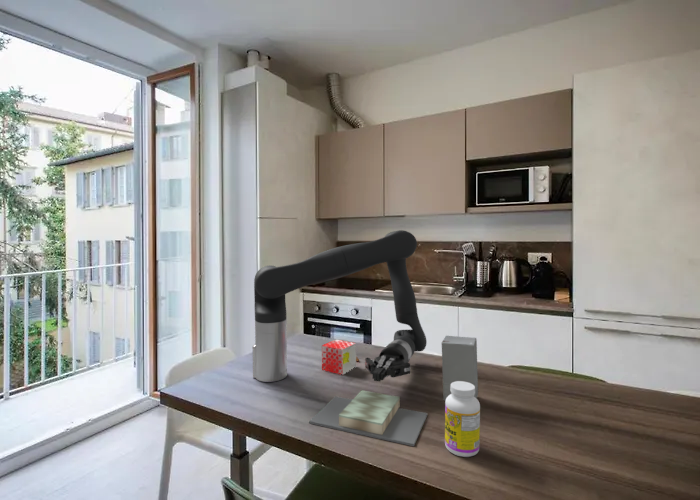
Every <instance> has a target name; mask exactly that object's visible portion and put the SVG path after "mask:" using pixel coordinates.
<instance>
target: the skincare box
mask: <svg viewBox="0 0 700 500" xmlns="http://www.w3.org/2000/svg"><path fill="white" fill-rule="evenodd" d="M477 341H478V339H477V337H469V336H467V337H466V336H457V335H456V336H455V335H454V336H453V335H445V337H443V339H442V341H441V360H442V361H441V363H442V364H441V365H442V366H441V367H442V393H443V395H442V397H443V398H442V400H443V401H446V398H447V397H448V396H449V395H450V394H452V393H451V391H450V386H451V383H453V382H456V381H464V382H468V383H471V384H473V385H474V386H475V395H474V397H475V398H476V399H477V400H478V397H479V396H478V395H479V382H478V381H479V380H478V379H479V378H478V377H479V375H478V374H479V373H478V344H477Z"/></svg>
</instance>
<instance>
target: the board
mask: <svg viewBox="0 0 700 500" xmlns="http://www.w3.org/2000/svg"><path fill="white" fill-rule="evenodd" d="M400 398H401V397H400V396H397V395H391V394H387V393H386V394H385V393H379V392H374V391H368V390H364V389H362V390H360V392H358V394H357V395H356V396H355V397H354V398H353V400H352V401H351V402H350V403H349V404H348V406H347V407H346V408H345V409H344V410H343V411H342V412H341V413H340V414H339V426H344V427H349V428H353V429H358V430H362V431H367V432H372V433H376V434H381V435H382V434H383V433H384V431H385V429H386V428H387V426H388V424H389V423H390V421H391V420H392V418H393V416H394V415H395V413H396V411H397V410H398V408H400V405H401V404H400V402H401V401H400V400H401V399H400Z"/></svg>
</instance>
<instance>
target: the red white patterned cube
mask: <svg viewBox="0 0 700 500" xmlns="http://www.w3.org/2000/svg"><path fill="white" fill-rule="evenodd" d="M356 357H357V343H356V342H352V341H347V340H341V339H334V340H331V341H329V342H327V343H324V344H322V345H321V371H324V370H325V372H328V371H329V373H333V374H337V375H341V374H342V375H341V376H343V375H346V372H347V373H348V372H350V371H352V370H354V369H355V368H357V362H356ZM354 367H355V368H354ZM353 368H354V369H353ZM351 369H352V370H351ZM349 370H350V371H349Z"/></svg>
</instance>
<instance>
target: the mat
mask: <svg viewBox="0 0 700 500" xmlns="http://www.w3.org/2000/svg"><path fill="white" fill-rule="evenodd" d="M353 399H354V398H353ZM353 399H352V398H347V397H341V396H336V395H335V396H334V397H332V399H331V400H330V401H329V402H328V403H327V404H325V405H324V407H322V408H321V409H320V410H319V411H318V412H317V413H316V414H315V415H314V416H313V417H312V418H311V419H310V420H309V422H308V423H309V424H311V425H316V426H320V427H325V428H329V429H334V430H338V431H341V432H342V431H343V432H347V433H351V434H356V435H361V436H364V437H365V436H366V437H369V438H374V439H379V440H383V441H387V442H392V443H397V444H401V445H406V446H409V447H415V445H416V443H417V440H418V438H419V436H420V434H421V432H422V428H424V424H425V422H426V420H427V418H428V416H429V415H428V412H425V411H424V412H423V411H419V410H418V411H417V410H413V409H407V408H402V407H401V408H400V407H399V408H398V410H397V411H396V413H395V415H394V416H393V418H392V420H391V421H390V423H389V424H388V426H387V428H386V429H385V431H384V433H383V434H382V435H381V434H376V433H372V432H367V431H362V430H358V429H353V428H349V427H344V426H339V414H340V413H341V412H342V411H343V410H344V409H345V408H346V407H347V406H348V404H349V403H350V402H351V401H352V400H353Z"/></svg>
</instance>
